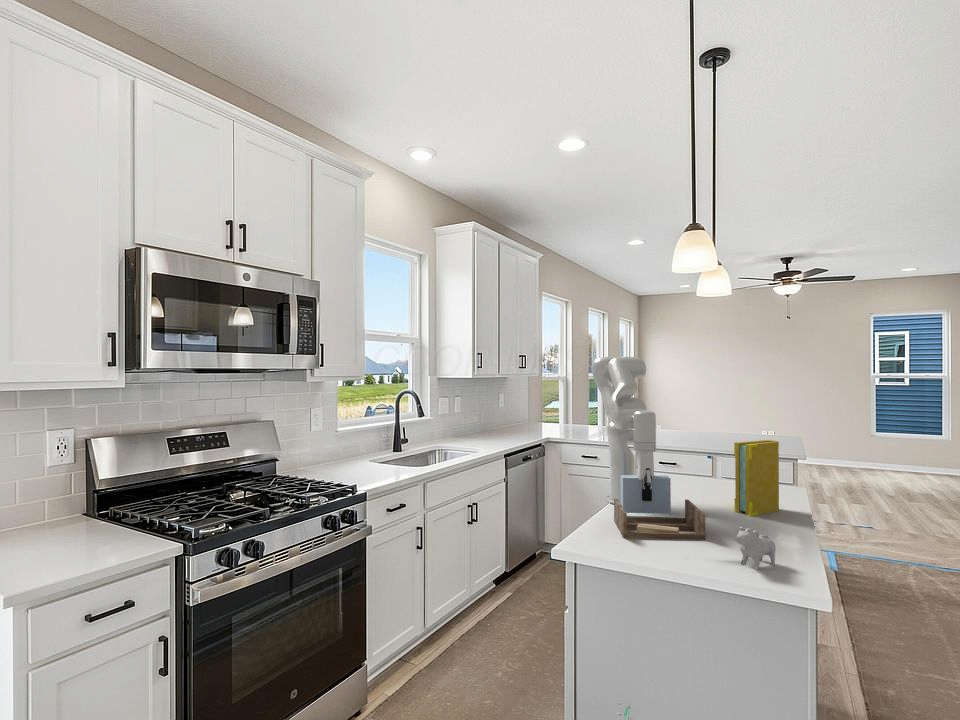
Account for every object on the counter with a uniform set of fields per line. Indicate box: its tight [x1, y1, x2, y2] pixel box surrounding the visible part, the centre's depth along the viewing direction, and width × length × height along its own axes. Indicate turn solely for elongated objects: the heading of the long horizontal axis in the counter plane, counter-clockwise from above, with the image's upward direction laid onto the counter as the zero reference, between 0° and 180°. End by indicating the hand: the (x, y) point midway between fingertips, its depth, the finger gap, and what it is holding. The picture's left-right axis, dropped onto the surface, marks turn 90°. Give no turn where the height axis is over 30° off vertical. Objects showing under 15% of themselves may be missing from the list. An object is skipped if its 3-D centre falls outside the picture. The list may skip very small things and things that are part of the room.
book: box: [733, 439, 780, 517], centre depth 205 cm, size 17×7×25 cm, turn 114°
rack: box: [613, 498, 706, 541], centre depth 178 cm, size 18×24×9 cm
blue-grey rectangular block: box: [620, 474, 672, 515], centre depth 197 cm, size 5×16×12 cm, turn 85°
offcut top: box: [636, 523, 680, 533], centre depth 174 cm, size 4×12×2 cm, turn 66°
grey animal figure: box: [734, 526, 776, 571], centre depth 151 cm, size 5×13×11 cm, turn 118°
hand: (645, 498), depth 197 cm, fingers closed on blue-grey rectangular block, 5 cm apart
